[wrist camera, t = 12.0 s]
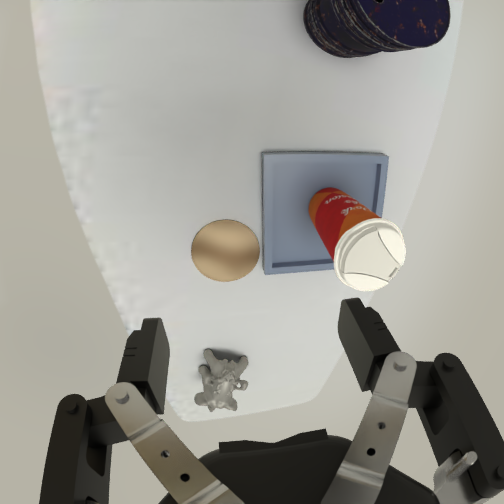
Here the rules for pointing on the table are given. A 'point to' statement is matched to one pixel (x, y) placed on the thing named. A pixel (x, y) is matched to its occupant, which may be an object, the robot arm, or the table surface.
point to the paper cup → (357, 240)
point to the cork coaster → (225, 250)
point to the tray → (298, 198)
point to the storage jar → (375, 25)
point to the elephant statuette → (220, 382)
